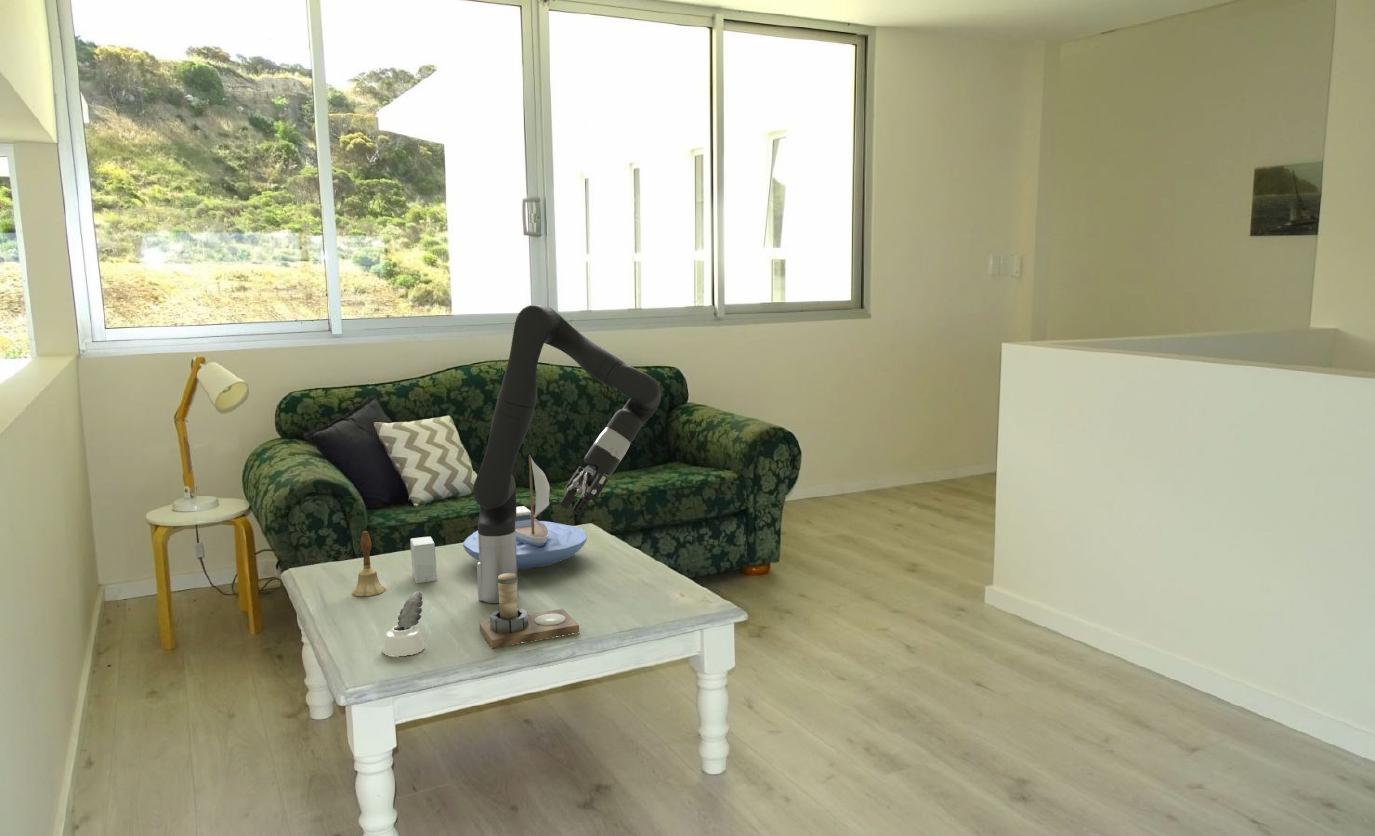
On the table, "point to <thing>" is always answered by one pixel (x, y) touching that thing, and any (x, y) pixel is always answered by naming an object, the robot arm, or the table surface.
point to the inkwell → (406, 630)
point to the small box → (423, 559)
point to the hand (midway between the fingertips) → (568, 510)
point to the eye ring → (509, 622)
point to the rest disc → (549, 619)
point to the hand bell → (367, 572)
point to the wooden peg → (508, 596)
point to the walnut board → (530, 630)
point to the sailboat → (537, 531)
